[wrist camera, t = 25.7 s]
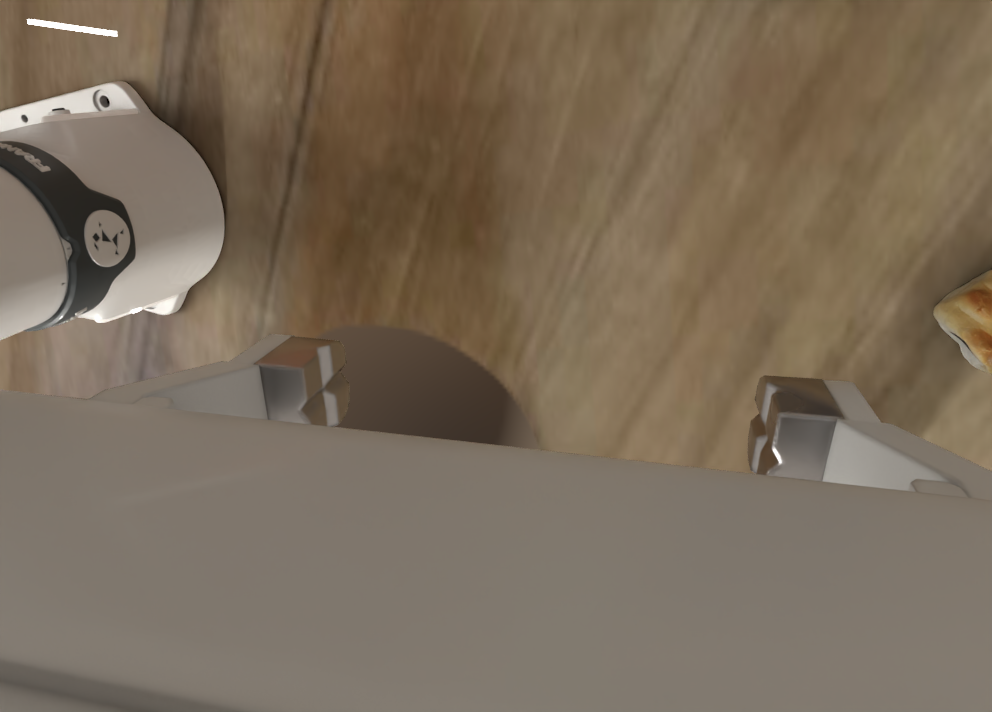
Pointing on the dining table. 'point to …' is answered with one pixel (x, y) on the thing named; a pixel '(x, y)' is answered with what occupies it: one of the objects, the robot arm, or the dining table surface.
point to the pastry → (970, 320)
